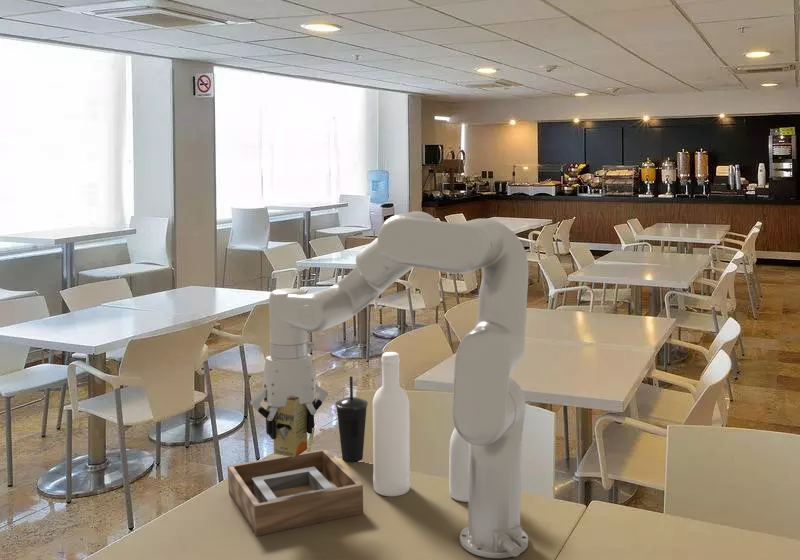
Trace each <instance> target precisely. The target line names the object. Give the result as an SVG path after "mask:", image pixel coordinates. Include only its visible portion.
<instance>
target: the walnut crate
mask: <svg viewBox="0 0 800 560" xmlns="http://www.w3.org/2000/svg"><path fill="white" fill-rule="evenodd" d="M227 481H228V484H227V485H228V493H229V495H230V496H231V499H232V500H233V502H234V504H235V505H236V506H237V508H238V509H239V511H240V513H241V514H242V516H243V518H244V519H245V521H246V523H248V525H249V527H250V528H251V530H252V532H253V533H254V536H255V537H258V536H264V535H268V534H269V535H270V534H273V533H277V532H282V531H288V530H293V529H296V528H300V527H305V526H309V525H316V524H319V523H324V522H329V521H333V520H337V519H342V518H348V517H353V516H357V515H360V514H364V484H363V483H362V482H361V481H359V480H358V478H356V477H355V476H354V474H353V473H351V472H350V471H349V470H348V469H347V468H346V467H345V466H344V465H343V464H342V463H340V461H339V460H337V458H336V457H334V456H333V455H332V454H331V453H330V451H328V450H327V449H326V448H321V449H316V450H315V449H314V450H311V451H310V450H309V451H304V452H302V453H301V454H299V455H298V456H296V457H290V456H284V455H280V456H276V457H270V458H265V459H259V460H252V461H247V462H242V463H241V462H240V463H235V464H229V465H227Z"/></svg>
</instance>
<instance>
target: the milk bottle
mask: <svg viewBox="0 0 800 560" xmlns="http://www.w3.org/2000/svg"><path fill="white" fill-rule="evenodd" d="M448 455H449V459H448V460H449V463H448V467H449V470H448V474H449V475H448V481H449V482H448V487H449V489H448V490H449V491H448V492H449V496H450V498H452V499H454V500H455V501H457V502H463V503H468V499H469V443H468V442H467V441H465V440H464V439H463V438H462V437H461V436H460V435H459V433H458V432H457V430H456V428H455V427H454V429H453V431H452V434H451V436H450V440H449V454H448Z"/></svg>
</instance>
